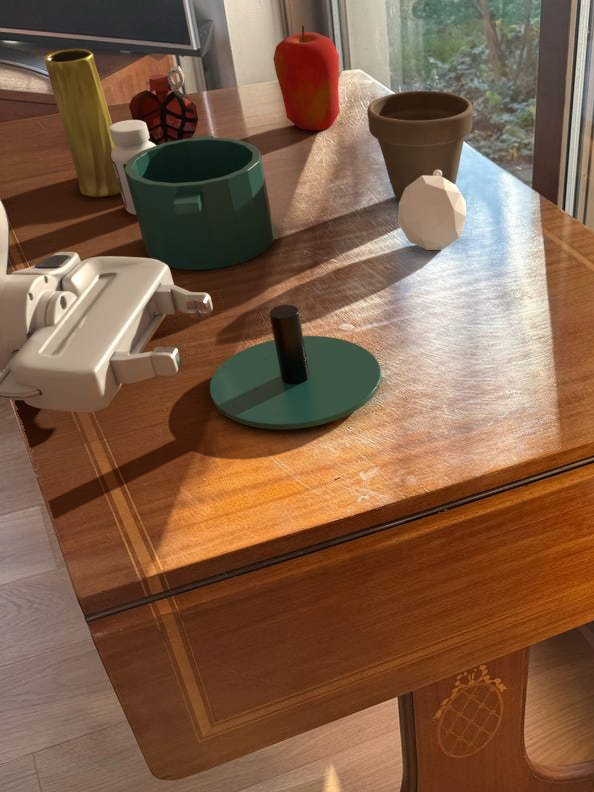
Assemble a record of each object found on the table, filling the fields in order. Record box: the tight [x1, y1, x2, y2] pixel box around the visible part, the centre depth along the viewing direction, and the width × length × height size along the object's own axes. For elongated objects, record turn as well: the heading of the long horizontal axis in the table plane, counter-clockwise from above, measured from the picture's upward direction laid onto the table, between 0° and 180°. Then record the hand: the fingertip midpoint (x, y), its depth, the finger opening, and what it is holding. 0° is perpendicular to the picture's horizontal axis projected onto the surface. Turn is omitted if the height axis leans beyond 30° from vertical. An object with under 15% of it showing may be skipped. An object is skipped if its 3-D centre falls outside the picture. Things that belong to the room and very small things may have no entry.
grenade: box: [128, 65, 199, 146], centre depth 122 cm, size 5×8×10 cm, turn 103°
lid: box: [209, 304, 382, 430], centre depth 82 cm, size 15×15×7 cm
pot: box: [124, 135, 275, 271], centre depth 104 cm, size 14×19×8 cm
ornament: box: [398, 170, 467, 251], centre depth 102 cm, size 7×7×8 cm
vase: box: [43, 48, 121, 199], centre depth 113 cm, size 6×6×14 cm
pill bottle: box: [109, 119, 156, 216], centre depth 111 cm, size 5×5×9 cm
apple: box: [273, 24, 341, 132], centre depth 128 cm, size 9×8×12 cm
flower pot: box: [366, 90, 474, 203], centre depth 110 cm, size 12×11×10 cm
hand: (194, 332), depth 82 cm, fingers open, 8 cm apart
